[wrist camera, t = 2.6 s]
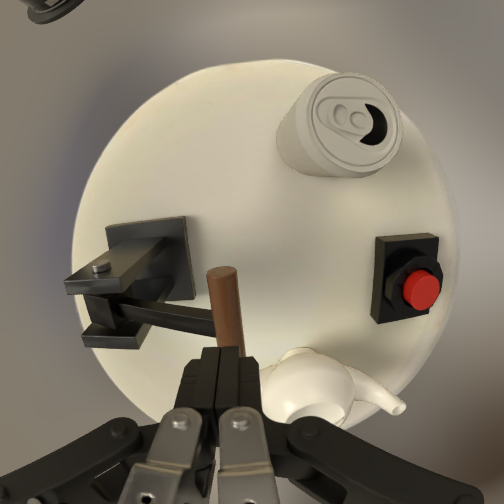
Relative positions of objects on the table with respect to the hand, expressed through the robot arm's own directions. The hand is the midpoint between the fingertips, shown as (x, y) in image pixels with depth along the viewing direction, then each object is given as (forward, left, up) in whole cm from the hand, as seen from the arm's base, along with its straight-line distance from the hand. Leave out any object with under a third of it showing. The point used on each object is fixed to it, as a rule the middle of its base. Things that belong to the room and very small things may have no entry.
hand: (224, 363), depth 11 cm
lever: (0, -4, -6) cm, 7 cm away
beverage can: (-10, +8, -17) cm, 21 cm away
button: (+4, +18, -13) cm, 22 cm away
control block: (+4, +18, -17) cm, 24 cm away
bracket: (0, -8, -17) cm, 18 cm away
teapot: (+14, +6, -17) cm, 22 cm away
